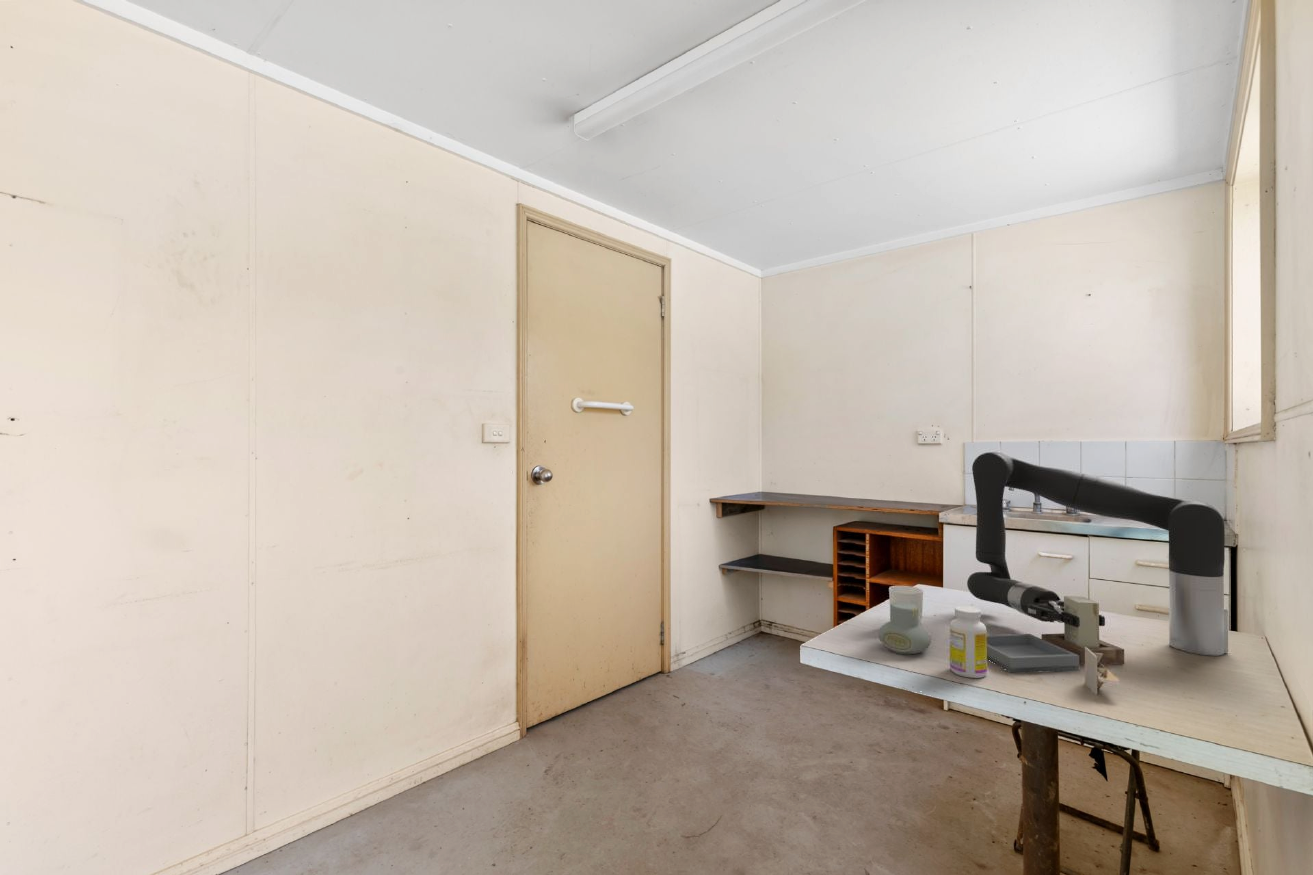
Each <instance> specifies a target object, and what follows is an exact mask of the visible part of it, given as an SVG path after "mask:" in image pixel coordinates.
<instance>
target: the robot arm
mask: <svg viewBox="0 0 1313 875" xmlns="http://www.w3.org/2000/svg"><path fill="white" fill-rule="evenodd" d="M971 469H972V470H971V471H972V475H973V476H972V478H973V483H974V490H975V499H976V500H975V501H976V532H975V533H976V534H975V536H976V537H975V559H976V560H977V562H979V563H982V564H986V565H988V566H989V567H990V571H977V572H976V571H975V572H974V573H972V574H970V575H969V577H968V578H967V582H966V586H967V589H968V591H969V593H970V594H971V595H972V596H974V597H975V598H976V599H978V600H981V601H985V602H990V603H996V604H999V605H1003V606H1005V607H1007V608H1010V609H1012V610H1013V609H1014V610H1015V611H1017V612H1019V613H1021V614H1023V615H1025V616H1028V617H1031V618H1034V619H1036V620H1037V621H1041V622H1045V623H1054V622H1057V623H1060V624H1062V623H1066V624H1069V625H1071V626H1074V627H1079V626H1080V619H1079V617H1078V616H1075V615H1072V614H1069V613H1067V612H1064V600H1061V598H1060V596H1059V595H1058V594H1057V593H1056V592H1055V591H1053V590H1049V589H1047V588H1045V587H1044V588H1043V587H1041V586H1039V585H1034V584H1031V583H1026V582H1022V581H1019V580H1016V579H1012V578H1011V575H1010V571H1009V568H1008V563H1007V559H1006V543H1007V541H1006V540H1007V538H1006V537H1007V536H1006V527H1005V525H1006V524H1005V518H1004V507H1003V506H1004V505H1003V504H1004V492H1005V488H1011V489H1016V490H1021V491H1026V492H1028V493H1032V494H1035V495H1038V496H1040V497H1042V498H1044V499H1047V500H1049V501H1051V502H1053V503H1056V504H1058V505H1061V506H1064V507H1068V508H1069V509H1073V510H1076V511H1080V512H1085V513H1086V514H1087V513H1088V514H1092V515H1096V516H1102V517H1107V518H1112V519H1121V520H1127V521H1134V522H1140V523H1143V524H1147V525H1150V526H1153V527H1156V528H1158V529H1162V530H1165V531H1168V590H1169V591H1168V603H1169V604H1168V606H1169V608H1168V610H1169V611H1168V616H1169V617H1168V620H1169V621H1168V623H1169V624H1168V630H1169V637H1168V638H1169V640H1168V641H1169V645H1170V646H1171V647H1173V648H1174V649H1176V650H1179V649H1180V650H1179V651H1183V652H1187V653H1192V654H1198V655H1202V656H1223V655H1224V654H1226V653H1229V611H1228V609H1226V608H1225V590H1224V589H1225V587H1224V586H1225V584H1224V583H1225V580H1224V578H1225V577H1224V575H1225V573H1224V572H1225V563H1226V562H1225V553H1226V552H1225V550H1226V548H1225V546H1226V545H1225V542H1226V541H1225V540H1226V539H1225V538H1226V531H1225V520H1224V518H1223V516H1222V515H1221V513H1220V512H1219V511H1218V510H1217V509H1216V508H1215V507H1214V506H1213V505H1210V504H1209V503H1207V502H1203V501H1198V500H1190V499H1184V498H1177V497H1171V496H1165V495H1160V494H1156V493H1151V492H1147V491H1144V490H1141V489H1137V488H1135V487H1132V486H1129V485H1126V484H1122V483H1120V482H1117V481H1113V480H1109V479H1106V478H1104V477H1099V476H1095V475H1091V474H1088V473H1087V474H1086V473H1083V472H1078V471H1072V470H1067V469H1062V468H1055V467H1047V466H1041V465H1038V464H1033V463H1030V462H1027V461H1023V460H1020V459H1018V458H1015V457H1012V456H1010V455H1007V454H1004V453H1002V452H997V451H995V452H993V451H991V452H983V453H981V454H979V455H978V456H977V457H976V458H975V459H974V461H973V462H972V466H971ZM1105 625H1106V617H1105V616H1104V615H1102V614H1099V627H1104V626H1105Z"/></svg>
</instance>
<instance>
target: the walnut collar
mask: <svg viewBox="0 0 1313 875" xmlns="http://www.w3.org/2000/svg"><path fill="white" fill-rule="evenodd" d="M1041 639H1043V640H1045V641H1047V642H1049V643H1052V644H1054V645H1056V646H1059V647H1061V648H1063V649H1065V650H1068V651H1070V652H1072V653H1074V654H1077V655H1079V666H1085V648H1082V647H1080V646H1077V645H1075V644H1072V643H1070V642H1068V641H1065V638H1064V632H1063V633H1042V634H1041ZM1088 649H1089V650H1090V651H1091V652H1092V653H1100V654H1103V655H1102V657H1101V659H1100V661H1101V660H1102V661H1101V662H1100V661H1099V662H1100V664H1099V666H1102V665H1119V664H1120V665H1124V664H1125V648H1123V647H1119V646H1117V645H1114V644H1113V643H1109V642H1107V641H1104V640H1101V639H1099V648H1088Z"/></svg>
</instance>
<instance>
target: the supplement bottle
mask: <svg viewBox="0 0 1313 875" xmlns="http://www.w3.org/2000/svg"><path fill="white" fill-rule="evenodd" d="M981 613H982V612H981V610H980V609H979V608H976V607H972V606H965V605H964V606H955V607H954V616H955V618H954V619H952V620H951V621H950V622H949V667H950V670H951V671H952V672H953V673H954V674H956V675H958V676H961V677H965V678H970V679H972V678H973V679H981V678H984V677H986V676H987V675H988V660H987V635H988V633H987V627H986V625H985V624H984V623H983V622H981V616H982V614H981Z"/></svg>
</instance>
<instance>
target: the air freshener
mask: <svg viewBox="0 0 1313 875" xmlns="http://www.w3.org/2000/svg"><path fill="white" fill-rule="evenodd" d="M889 612H890V613H889V615H890V616H889V621H888V622H886V623H884V624H882V625H881V626H880V628H879V630H878V638H879V641H880V642H881V643H882V645H883V646H885V647H886V648H887V649H889V650H890V651H893V652H894V653H896V654H900V655H914V654H919V653H923V652H925V651H926V650H927V649H928V648H929V647H930V646H931V644H932V637H931V635H930V633H929V632H928V630H927V629H926V628H925V627H924V626H922V625H921V626H920V625H919V617H918V607H917V606H916V605H913V604H910V603H901V602H898V603H892V604H891V605H890V604H889Z"/></svg>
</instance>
